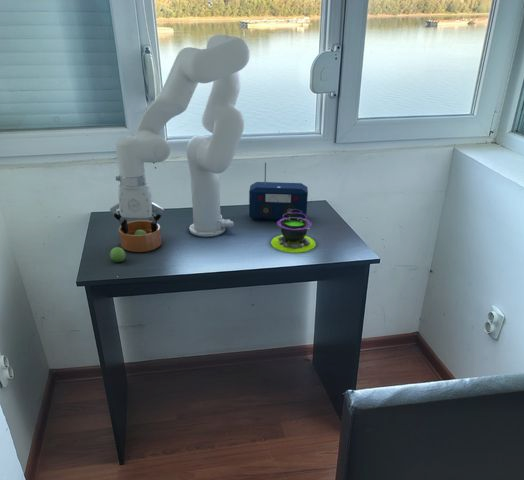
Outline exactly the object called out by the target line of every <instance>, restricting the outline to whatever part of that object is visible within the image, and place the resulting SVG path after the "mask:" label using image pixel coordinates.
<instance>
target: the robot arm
mask: <svg viewBox="0 0 524 480" xmlns="http://www.w3.org/2000/svg"><path fill="white" fill-rule="evenodd" d="M250 57H251V50H250V46H249V45H248V43H247V42H246V41H245V40H244V39H243V38H241V37H238V36H234V35H227V34H214V35H212V36H210V37H209V39H208V41H207V43H206V47H205V48H202V49H201V48H198V47H192V46H191V47H190V46H189V47H183V48H182V49H181V50H180V51H179V52H178V53H177V55H176V56H175V59H174V61H173V63H172V66H171V68H170V71H169V73H168V75H167V78H166V80H165V82H164V84H163V86H162V88H161V91H160V93H159V94H158V96H157V98H155V100H153V102H152V103H151V104H150V105H149V106H148V108H147V109H146V110H145V112H144V113H143V115H142V116H141V119H140V121H139V123H138V126H137V127H136V130H135V132H134V136H131V135H130V136H122V137H121V136H120V137H118V138H117V139H116V140H115V151H116V158H117V165H118V171H119V175H116V176H115V181H118V182H120V184H118V189H117V190H118V193H117V194H118V202H117V203H116V204H115V205H112V206H111V207H110V208H109V211H110V212H111V215H113V217H114V218H115V219H117V220H118V222H119V223H120V226H121V228H122V231H124V233H125V234H127V232H128V226H127V222H128V220H127V219H148V220H149V221H152V223H151V229H152V232H155V231H156V230H157V224H158V223H157V222H158V221H159V220H160V219H161V217H162V216H163V213H164V212H165V208H164V207H162V206H160V205H158V204H157V203H155V202H153V197H152V192H151V188H150V186H149V183H148V182H147V179H146V171H145V163H162V162H165V160H167V159H168V158H169V156H170V154H171V147H170V144H169V141H167V140H166V139H165V138H164V137H162V136H160V135H161V133H162V131H163V130H164V127H165V126H166V124H168V122H169V121H171V120H172V119H173V118H175V117H176V116H180V115H181V114H182V113H184V112H185V111H186V110H187V109H188V107H189V105H190V102H191V100H192V98H193V96H194V94H195V91H196V89H197V87H198V84H208V83H209V84H210V83H212V85H211V89H210V91H209V94H208V97H207V99H206V103H205V106H204V108H203V111H202V114H201V124H202V127H203V128H204V129H205V130H206V131H208V132H209V133H211V136H209V135H206V134H196V135H194V136H192V137H191V138H190V139H189V141H188V142H187V145H186V160H187V164H188V167H189V176H190V188H191V190H190V191H191V204H192V206H191V207H192V219H193V220H192V221H193V222H192V224H190V226H189V232H190V233H191V234H192V235H193V236H196V237H197V236H198V237H203V238H209V237H217V236H219V235H222V234H223V233H225V231H226V228H227V227H228V228H234V221H231V219H224V218H223V215H222V214H221V189H220V184H221V183H220V174H222V173H224V172H225V171H227V169H228V168H229V167H230V165H231V163H232V162H233V159H234V157H235V154H236V151H237V149H238V146H239V143H240V141H241V139H242V135H243V133H244V128H245V119H244V115H243V114H242V112H241V110H240V109H239V108H238V107H236V104H237V100H238V97H239V94H240V90H241V75H240V71H242V70H243V69H244V68H245V67H246V66H247V65H248V63H249V61H250ZM117 210H119V212H118V211H117ZM155 211H157V212H158V213H157V214H156V215H155V213H154V212H155Z"/></svg>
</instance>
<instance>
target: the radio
mask: <svg viewBox="0 0 524 480" xmlns="http://www.w3.org/2000/svg"><path fill="white" fill-rule="evenodd" d="M248 191H249V193H248V196H249V197H248V203H249V204H248V208H249V209H248V210H249V211H248V217H249V218H250V219H252V220H253V221H259V222H263V221H264V222H279V221H280V220H281V222H283V221H282V219H283V218H285V219H286V218H287V217H288V218H289V217H290V218H292V217H294V218H296V217H297V218H298V217H299V218H301V219H305V218H306V216H307V212H308V211H307V210H308V196H309V189H308V186H307V185H305V184H303V183H301V182H279V181H277V182H276V181H267V162H264V181H255V182H254V183H252V184H250V186H249V190H248ZM293 209H294V210H293ZM295 209H296V210H295ZM299 210H300V211H299ZM288 211H289V212H288ZM301 211H302V213H301ZM290 212H292V214H291V213H290ZM296 212H297V213H296ZM286 213H287V214H286ZM299 213H300V214H299ZM284 214H285V215H284ZM304 214H305V215H304ZM283 215H284V216H283ZM289 215H290V216H289ZM306 219H307V218H306ZM306 219H305V220H306ZM283 220H284V219H283Z"/></svg>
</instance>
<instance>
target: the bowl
mask: <svg viewBox="0 0 524 480" xmlns="http://www.w3.org/2000/svg"><path fill="white" fill-rule="evenodd" d="M151 223H152V221H151V220H143V219H142V220H141V219H139V220H132V221H127V226H128V232H127V234H125V233H124V231H122V228H121V225H119V227H118V235H119V242H120V248H122V249H123V250H124V251H125V250H126V251H128V252H130V253H131V252H132V253H146V252H147V253H148V252H151V251H153V250H154V251H155V249H158V248H159V247H160V246H161V245H162V243H163V240H162V239H163V238H162V232H161V231H162V229H161V225H160V224H159V223H157V230H156V231H155V232H152V229H151ZM137 230H144V231H145V232H146V233H147V234H145V235H134V233H135V232H136V231H137Z"/></svg>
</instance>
